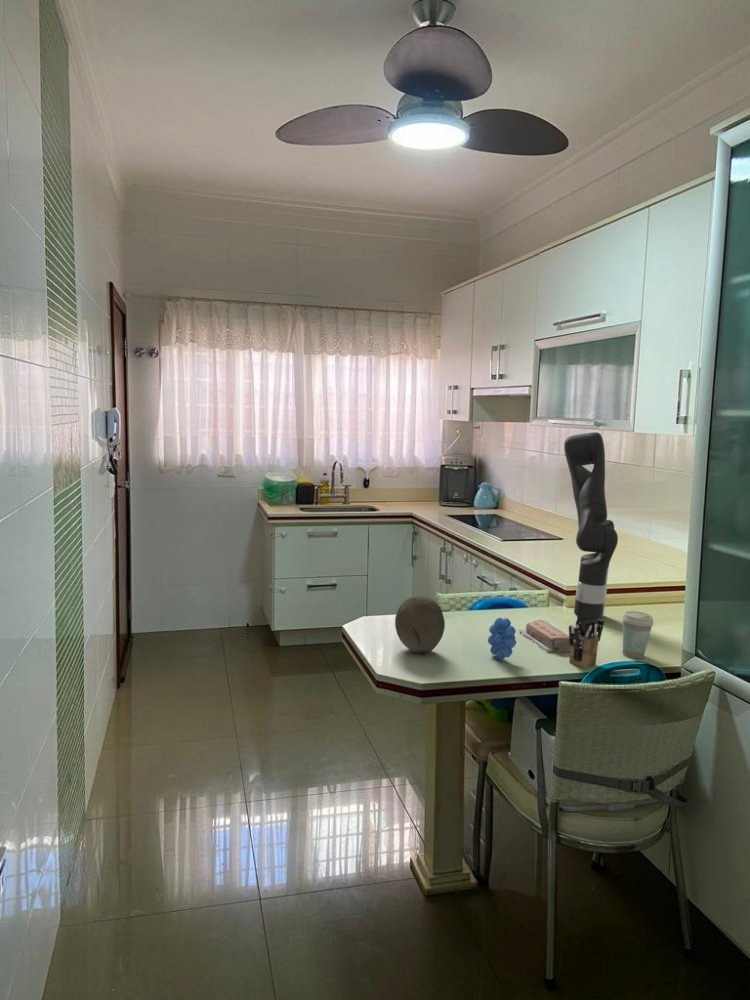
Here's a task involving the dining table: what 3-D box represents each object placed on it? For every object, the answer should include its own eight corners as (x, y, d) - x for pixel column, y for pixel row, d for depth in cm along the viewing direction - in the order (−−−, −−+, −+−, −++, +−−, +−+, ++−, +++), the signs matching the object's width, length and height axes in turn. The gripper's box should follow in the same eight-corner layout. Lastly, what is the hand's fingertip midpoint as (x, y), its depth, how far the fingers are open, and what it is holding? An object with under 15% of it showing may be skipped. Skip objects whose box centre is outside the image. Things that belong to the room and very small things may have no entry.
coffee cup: (625, 659, 205) (630, 618, 204) (613, 649, 214) (618, 609, 212) (654, 661, 206) (659, 620, 204) (641, 650, 214) (646, 611, 213)
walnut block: (579, 659, 203) (582, 631, 202) (595, 664, 199) (598, 636, 198) (569, 662, 200) (572, 634, 199) (585, 668, 196) (588, 639, 195)
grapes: (525, 666, 195) (529, 622, 193) (503, 668, 192) (508, 624, 190) (501, 650, 205) (505, 609, 204) (481, 652, 203) (485, 611, 201)
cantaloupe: (453, 653, 200) (458, 600, 198) (417, 663, 191) (422, 608, 189) (417, 638, 211) (421, 588, 208) (381, 647, 201) (385, 594, 199)
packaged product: (579, 637, 209) (548, 638, 206) (578, 653, 209) (547, 654, 207) (548, 617, 226) (519, 618, 223) (547, 632, 226) (518, 633, 224)
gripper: (592, 592, 205) (585, 650, 207) (562, 598, 195) (556, 659, 197) (616, 598, 199) (609, 658, 201) (587, 606, 190) (580, 668, 192)
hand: (582, 658), depth 199 cm, fingers closed on walnut block, 5 cm apart
